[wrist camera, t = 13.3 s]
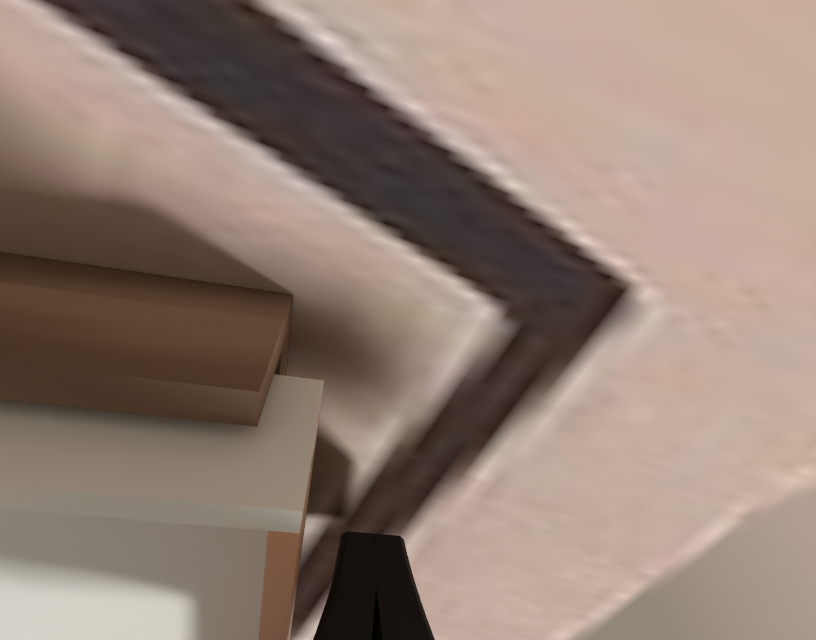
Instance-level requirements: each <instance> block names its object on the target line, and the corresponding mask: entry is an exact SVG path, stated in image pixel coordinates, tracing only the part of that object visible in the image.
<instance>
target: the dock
mask: <svg viewBox="0 0 816 640" xmlns="http://www.w3.org/2000/svg"><path fill="white" fill-rule="evenodd" d="M292 302H293V295H289V294H282V293H275V292H268V291H261V290H254V289H248V288H241V287H234V286H227V285H220V284H213V283H206V282H199V281H192V280H185V279H178V278H172V277H165V276H158V275H151V274H144V273H137V272H130V271H123V270H116V269H109V268H102V267H95V266H89V265H82V264H75V263H68V262H61V261H54V260H47V259H40V258H33V257H26V256H19V255H12V254H6V253H0V399H5V400H15V401H24V402H33V403H42V404H51V405H61V406H70V407H79V408H88V409H97V410H107V411H116V412H125V413H134V414H143V415H153V416H162V417H171V418H180V419H189V420H199V421H208V422H217V423H226V424H235V425H245V426H254V427H257V425H258V422H259V419H260V416H261V413H262V410H263V407H264V404H265V400H266V397H267V394H268V391H269V388H270V385H271V382H272V379H273V376H274V374H276V375H284V376H286V368H287V357H288V346H289V335H290V324H291V313H292Z"/></svg>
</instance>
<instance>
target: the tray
mask: <svg viewBox="0 0 816 640" xmlns="http://www.w3.org/2000/svg"><path fill="white" fill-rule="evenodd" d="M323 386H324V380H317V379H309V378H300V377H292V376H284V375H276V374H274V376H273V379H272V382H271V385H270V388H269V391H268V394H267V397H266V400H265V404H264V407H263V410H262V413H261V416H260V419H259V422H258V425H257V427H254V426H245V425H235V424H226V423H217V422H208V421H199V420H189V419H180V418H171V417H162V416H153V415H143V414H134V413H125V412H116V411H107V410H97V409H88V408H79V407H70V406H61V405H51V404H42V403H33V402H24V401H15V400H5V399H0V640H290V632H291V625H292V617H293V610H294V602H295V595H296V588H297V580H298V573H299V565H300V558H301V550H302V543H303V535H304V528H305V520H306V513H307V505H308V498H309V491H310V483H311V476H312V468H313V461H314V453H315V446H316V438H317V431H318V423H319V416H320V409H321V401H322V394H323Z"/></svg>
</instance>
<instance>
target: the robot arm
mask: <svg viewBox="0 0 816 640" xmlns="http://www.w3.org/2000/svg"><path fill="white" fill-rule="evenodd" d="M313 640H435V639H434V637H433V634H432V631H431V628H430V626H429V623H428V620H427V618H426V615H425V612H424V609H423V606H422V603H421V600H420V597H419V594H418V591H417V588H416V584H415V581H414V578H413V574H412V571H411V567H410V564H409V560H408V556H407V552H406V547H405V543H404V540H403V539H402V537H401V536H395V535H383V534H371V533H359V532H348V531H347V532H345V533H343V534H341V538H340V543H339V548H338V554H337V559H336V564H335V570H334V575H333V580H332V585H331V588H330V592H329V595H328V599H327V602H326V605H325V607H324V610H323V613H322V616H321V619H320V622H319V625H318V628H317V631H316V634H315V636H314V639H313Z"/></svg>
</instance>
